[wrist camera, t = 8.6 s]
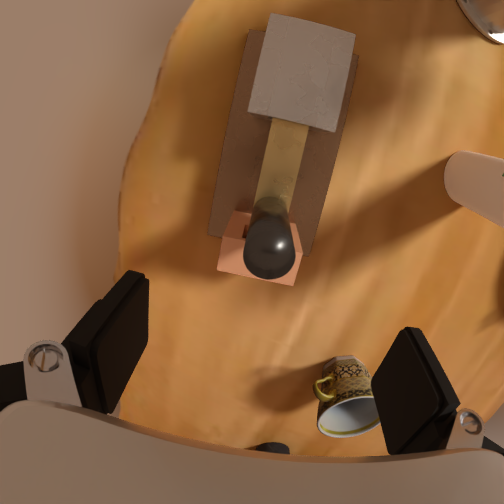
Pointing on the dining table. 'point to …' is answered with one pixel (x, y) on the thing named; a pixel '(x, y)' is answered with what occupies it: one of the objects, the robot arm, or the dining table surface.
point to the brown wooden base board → (286, 116)
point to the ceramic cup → (345, 399)
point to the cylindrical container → (477, 183)
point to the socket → (234, 248)
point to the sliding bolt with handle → (275, 202)
